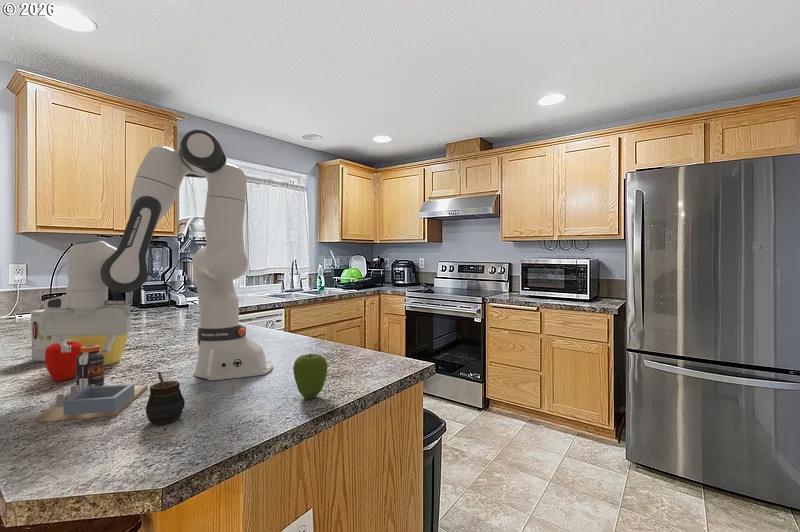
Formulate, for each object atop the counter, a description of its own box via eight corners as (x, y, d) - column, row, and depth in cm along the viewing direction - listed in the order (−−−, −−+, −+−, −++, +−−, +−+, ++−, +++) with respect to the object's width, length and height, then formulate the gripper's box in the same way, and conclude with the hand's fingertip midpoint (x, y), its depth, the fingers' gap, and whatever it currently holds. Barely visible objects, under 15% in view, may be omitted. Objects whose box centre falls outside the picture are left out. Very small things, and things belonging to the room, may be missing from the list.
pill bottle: (89, 391, 105) (88, 349, 104) (70, 390, 106) (69, 347, 106) (109, 384, 111) (109, 344, 110) (92, 383, 112) (91, 343, 111)
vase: (106, 369, 125) (104, 280, 124) (55, 369, 125) (53, 280, 124) (140, 356, 141) (139, 277, 140) (95, 356, 141) (94, 277, 140)
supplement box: (30, 360, 135) (29, 310, 135) (58, 353, 144) (57, 307, 144) (54, 361, 134) (53, 311, 133) (80, 355, 143) (79, 308, 142)
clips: (96, 393, 101) (96, 383, 101) (78, 405, 93) (78, 394, 93) (73, 395, 99) (73, 385, 99) (52, 407, 91) (52, 396, 91)
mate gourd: (156, 430, 82) (155, 382, 82) (138, 422, 86) (137, 376, 86) (191, 418, 88) (189, 373, 88) (172, 411, 92) (171, 368, 92)
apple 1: (91, 376, 118) (91, 339, 118) (58, 385, 110) (57, 346, 110) (71, 373, 121) (70, 337, 121) (37, 381, 113) (36, 343, 113)
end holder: (134, 395, 99) (134, 383, 99) (115, 411, 89) (115, 398, 89) (88, 399, 97) (87, 386, 97) (63, 415, 87) (63, 401, 87)
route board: (147, 389, 107) (147, 385, 107) (115, 415, 89) (115, 410, 89) (82, 393, 104) (82, 389, 104) (36, 421, 86) (36, 416, 86)
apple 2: (315, 406, 95) (315, 358, 95) (285, 401, 98) (285, 355, 98) (333, 394, 103) (333, 350, 103) (305, 390, 106) (305, 347, 106)
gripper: (135, 299, 113) (134, 348, 113) (51, 299, 108) (50, 350, 108) (125, 301, 107) (124, 353, 107) (35, 301, 102) (34, 355, 102)
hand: (86, 351), depth 108 cm, fingers open, 8 cm apart
